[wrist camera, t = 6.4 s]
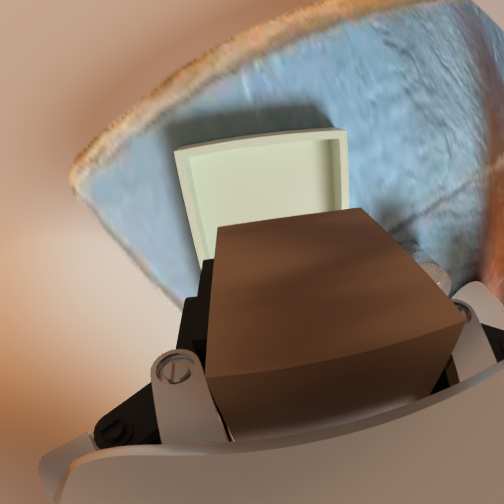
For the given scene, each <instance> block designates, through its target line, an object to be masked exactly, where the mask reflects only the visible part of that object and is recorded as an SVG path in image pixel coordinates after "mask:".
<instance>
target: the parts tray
mask: <svg viewBox="0 0 504 504" xmlns="http://www.w3.org/2000/svg"><path fill="white" fill-rule="evenodd" d="M174 156H175V161H176V166H177V170H178V175H179V180H180V184H181V189H182V194H183V198H184V203H185V207H186V211H187V216H188V220H189V224H190V228H191V233H192V237H193V241H194V245H195V249H196V253H197V257H198V261H199V265H200V268H201V269H202V263H203V260H206V259H213V258H214V256H215V246H216V236H217V227H221V226H227V225H234V224H241V223H247V222H254V221H261V220H268V219H275V218H282V217H290V216H297V215H305V214H312V213H320V212H328V211H336V210H344V209H349V173H348V148H347V131H346V130H344V129H340V128H336V127H327V128H311V129H298V130H287V131H277V132H268V133H259V134H251V135H244V136H237V137H230V138H224V139H218V140H212V141H206V142H201V143H196V144H190V145H185V146H180V147H179V148H178V149H177V150H175V151H174Z"/></svg>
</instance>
